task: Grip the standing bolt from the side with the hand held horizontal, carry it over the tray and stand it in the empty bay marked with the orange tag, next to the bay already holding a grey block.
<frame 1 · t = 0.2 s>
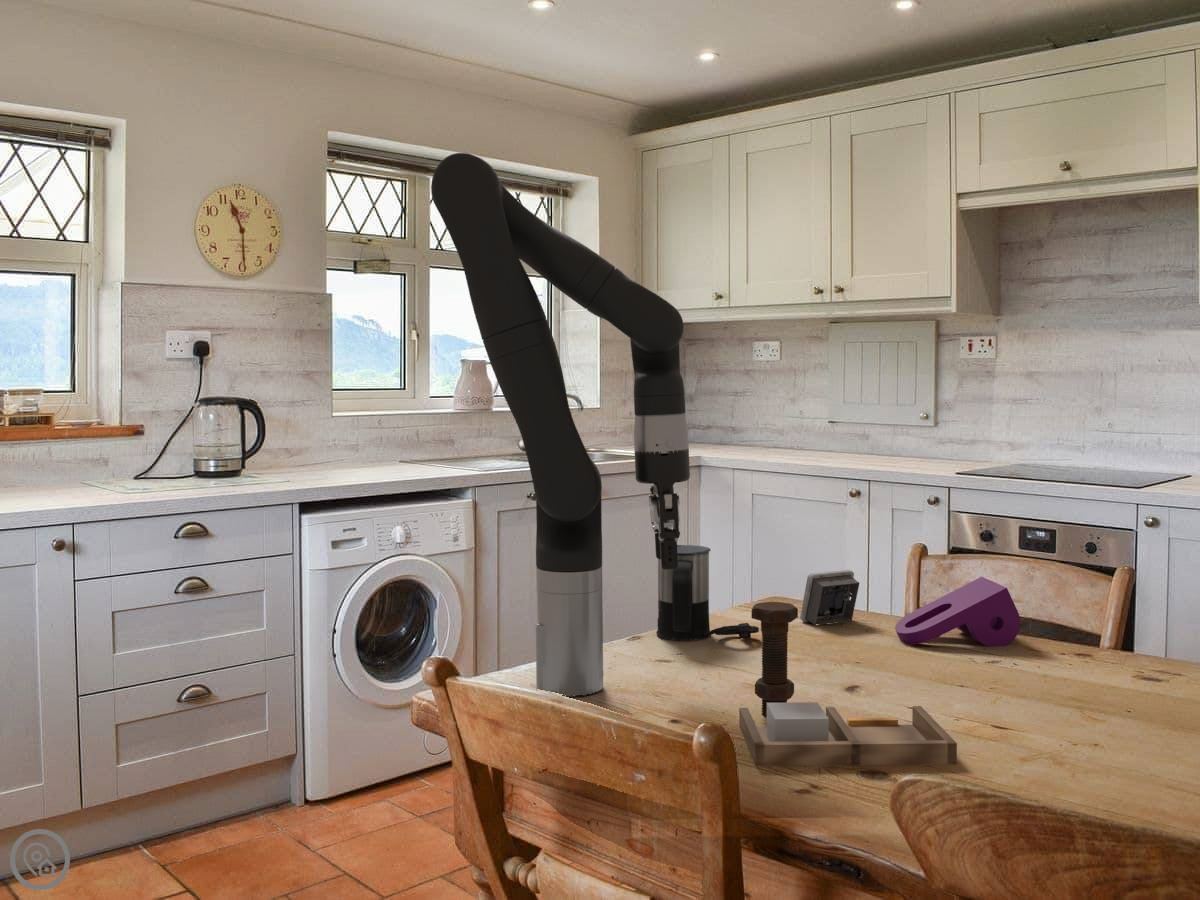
hand: (666, 563, 148), 18 cm above the table, tool pointing down, fingers open, 8 cm apart
bolt: (774, 725, 134), on the table
milk frother: (706, 638, 178), on the table
grey block: (796, 744, 123), point 1 cm above the table, touching tray
electrical switch: (831, 623, 188), on the table
tray: (842, 754, 123), on the table
mounting bracket: (951, 642, 175), on the table
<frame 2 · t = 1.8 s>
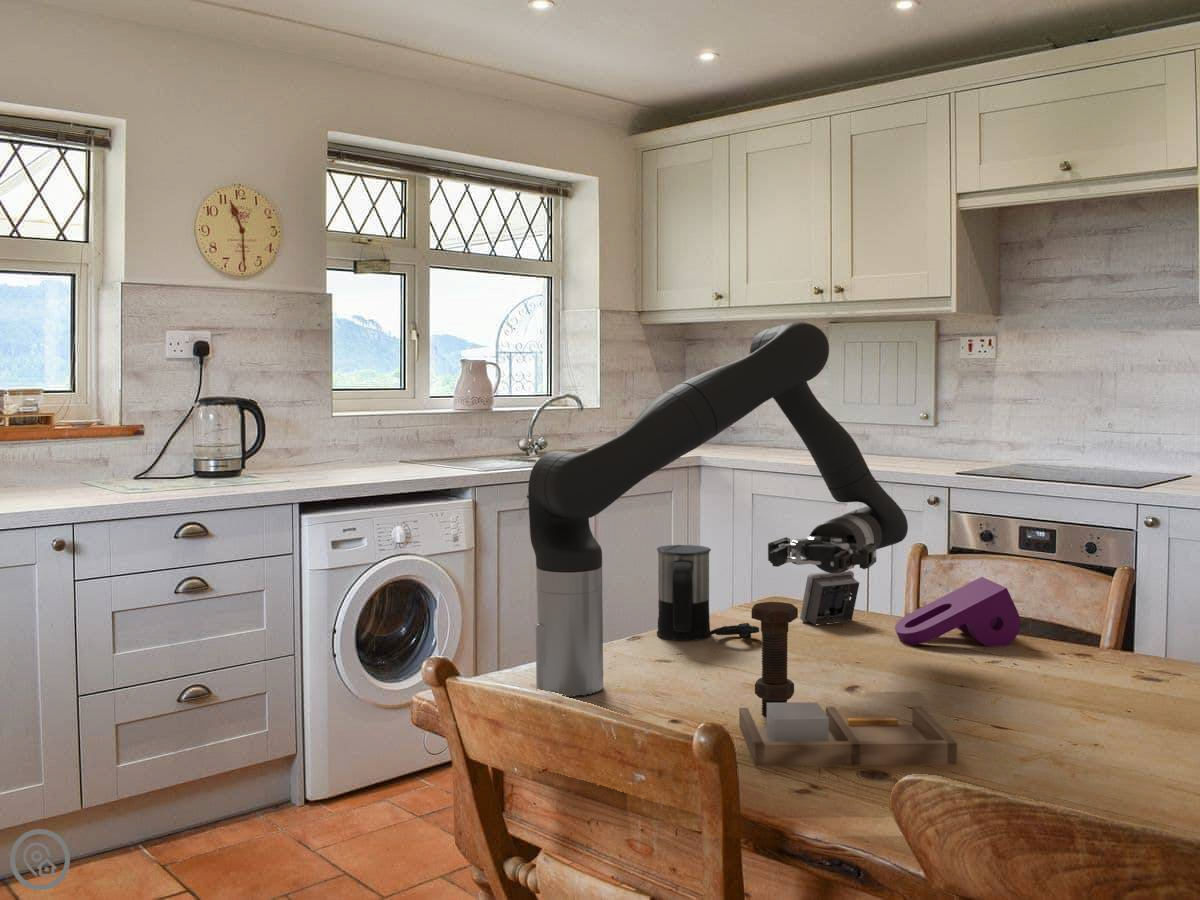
hand: (805, 561, 142), 19 cm above the table, tool horizontal, fingers open, 8 cm apart
nothing on the table moved.
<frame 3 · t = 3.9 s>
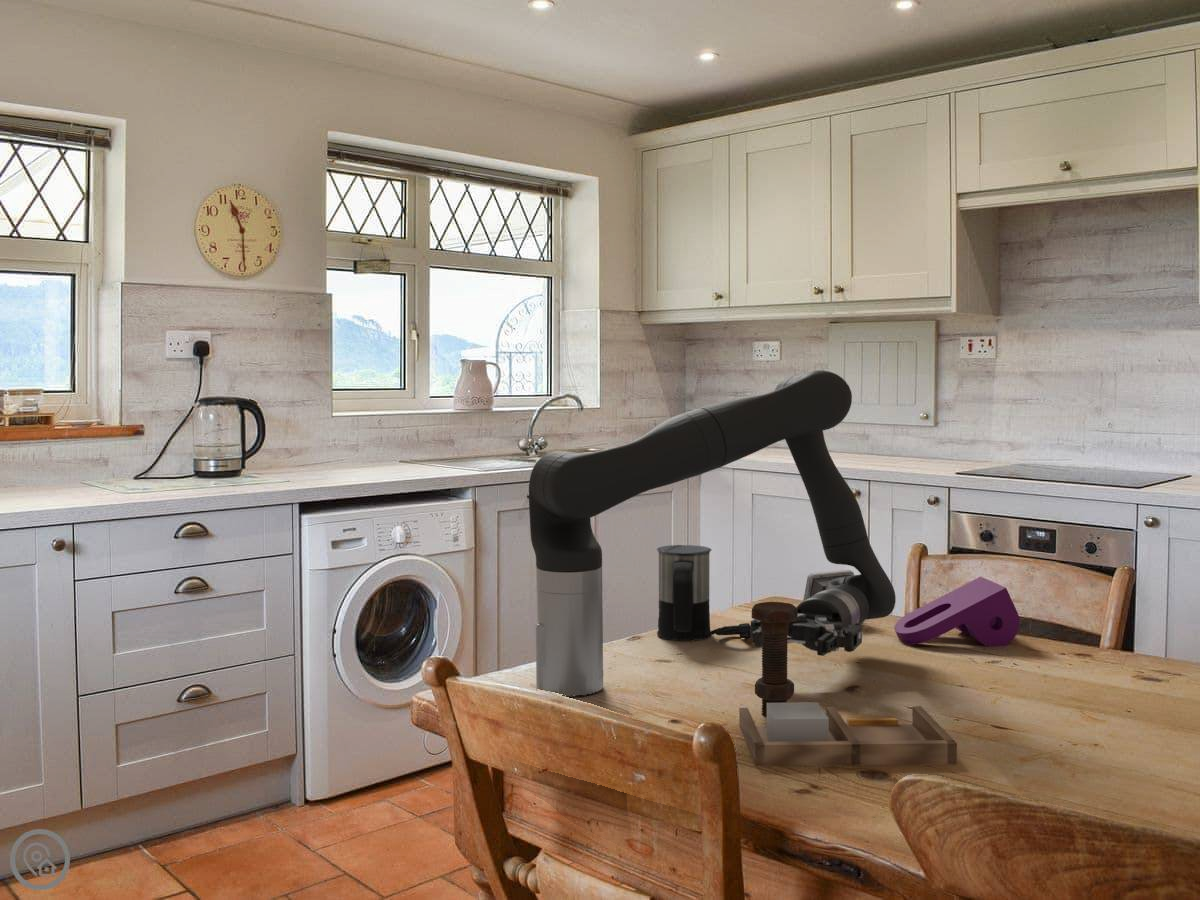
hand: (788, 643, 138), 9 cm above the table, tool horizontal, fingers open, 8 cm apart
nothing on the table moved.
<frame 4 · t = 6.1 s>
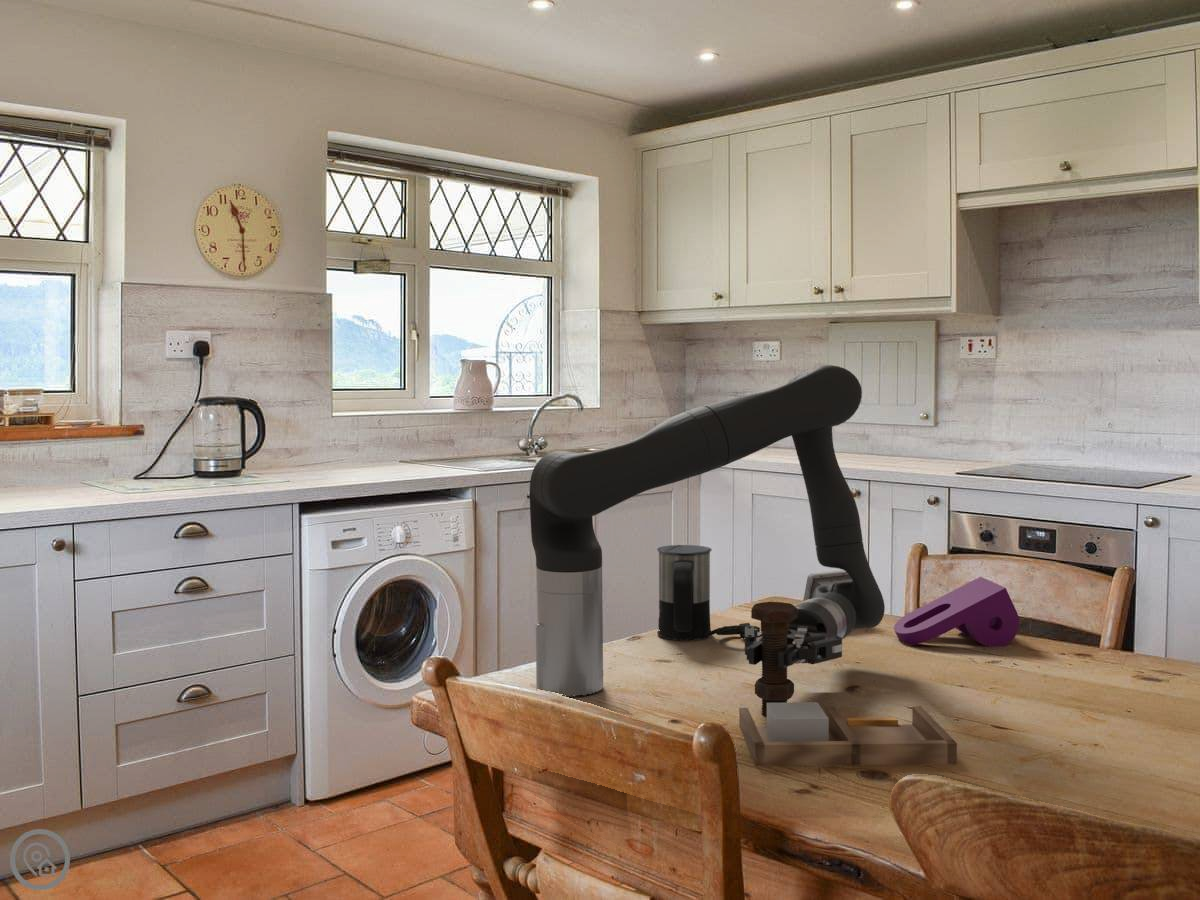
hand: (766, 658, 131), 9 cm above the table, tool horizontal, fingers closed on bolt, 3 cm apart
bolt: (774, 725, 134), on the table, touching gripper
everything else where it was.
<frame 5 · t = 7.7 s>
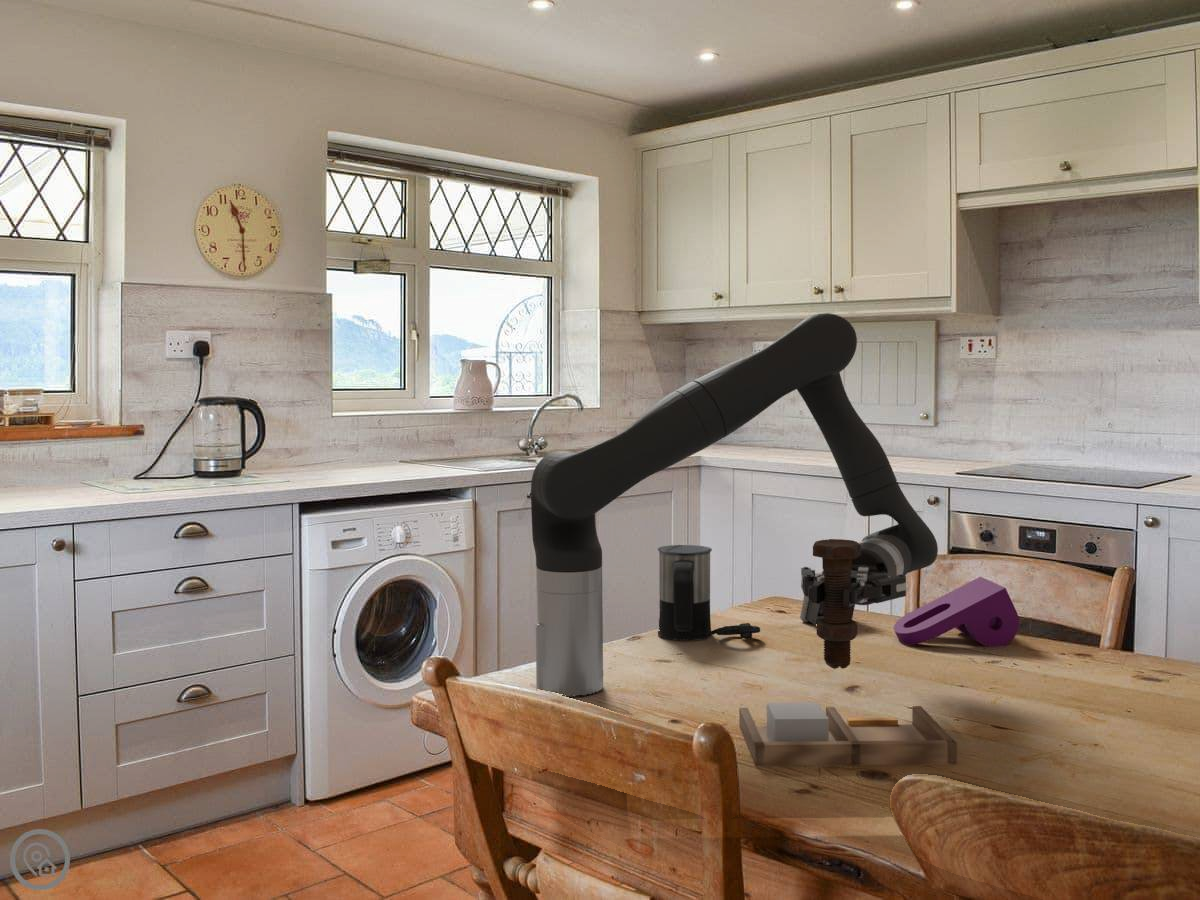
hand: (830, 596, 125), 18 cm above the table, tool horizontal, fingers closed on bolt, 3 cm apart
bolt: (837, 667, 128), point 9 cm above the table, touching gripper
everything else where it was.
when the fingers open (11 cm above the table, at t = 9.7 s): bolt stays where it is, resting on tray.
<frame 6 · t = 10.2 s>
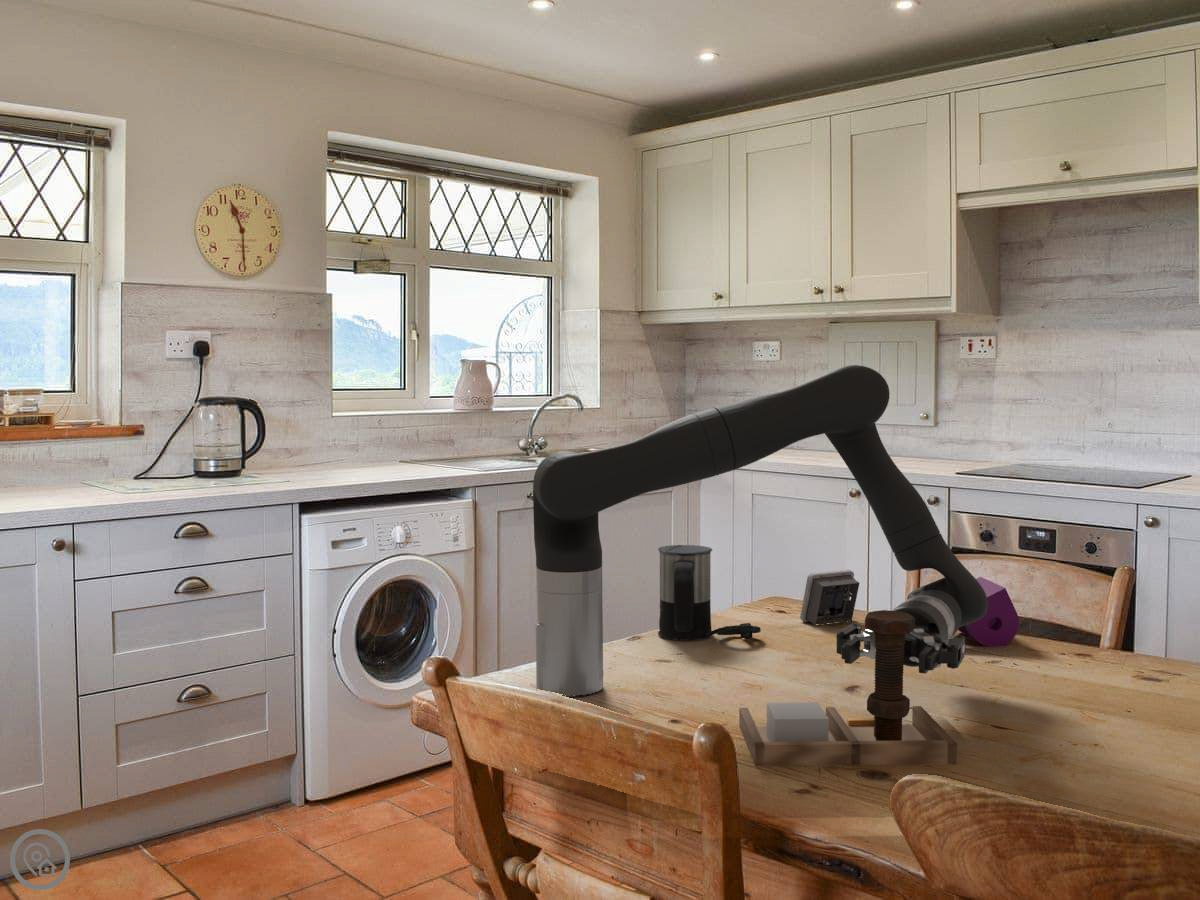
hand: (884, 659, 121), 12 cm above the table, tool horizontal, fingers open, 8 cm apart
bolt: (887, 744, 123), point 1 cm above the table, touching tray
everything else where it was.
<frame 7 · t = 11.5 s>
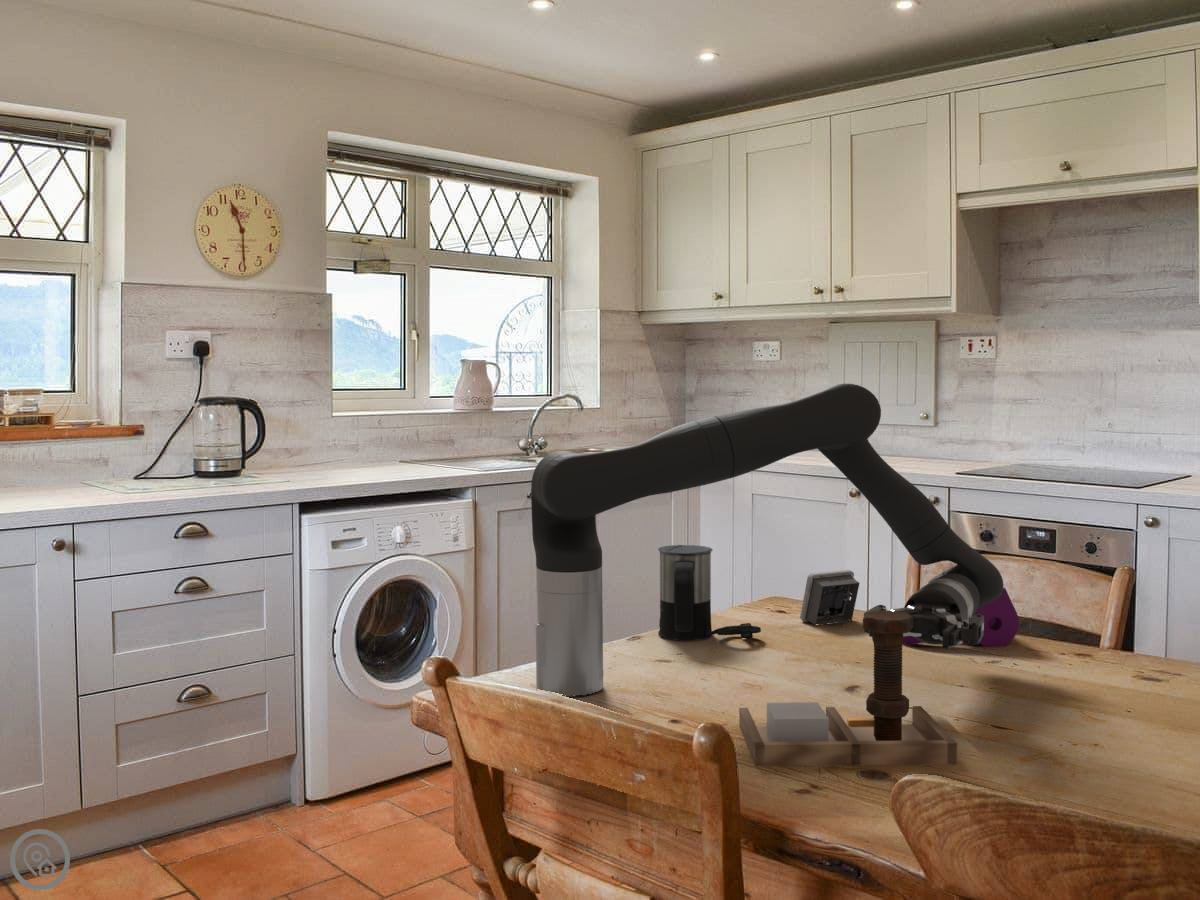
hand: (909, 636, 130), 12 cm above the table, tool horizontal, fingers open, 8 cm apart
nothing on the table moved.
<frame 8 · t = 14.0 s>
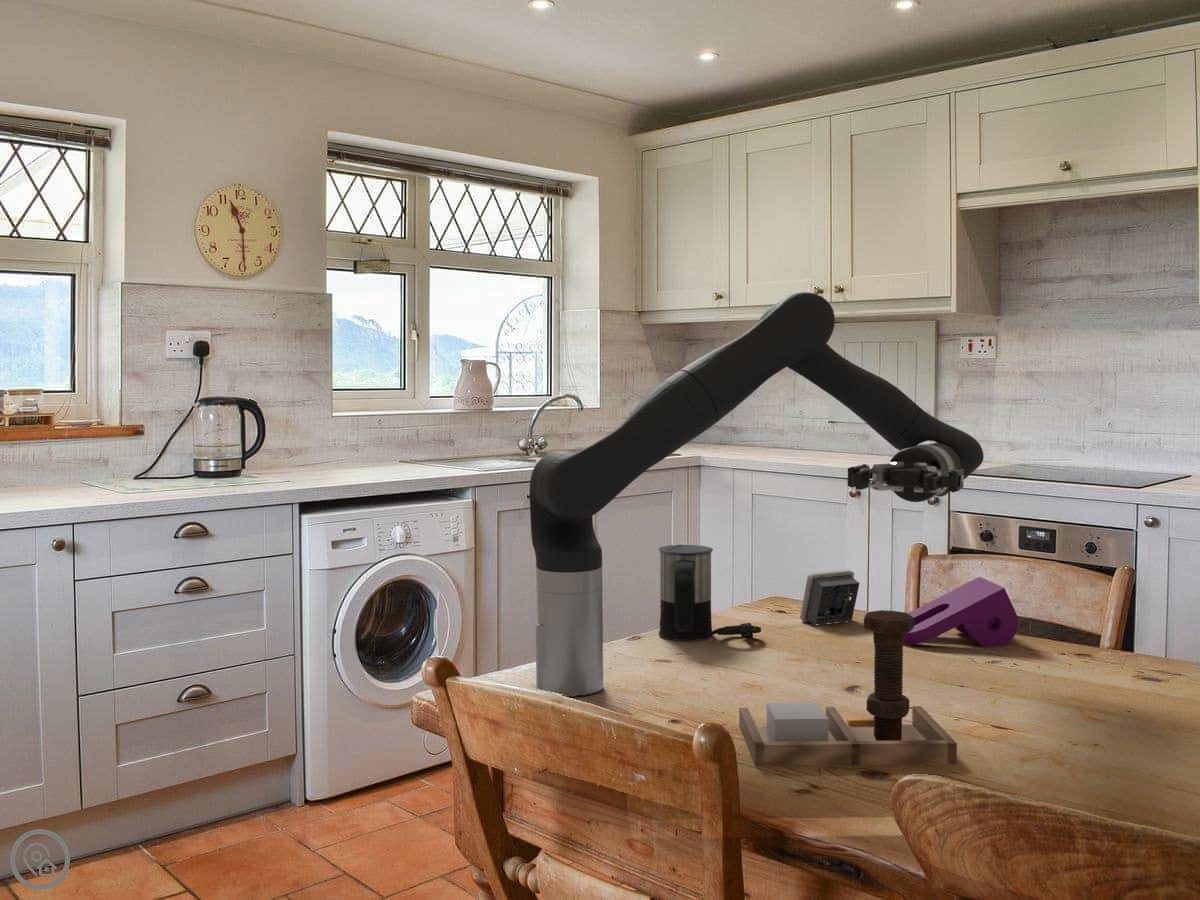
hand: (891, 482, 134), 30 cm above the table, tool horizontal, fingers open, 8 cm apart
nothing on the table moved.
at the end: bolt inside the target area on the tray (0.2 cm from its centre), point 1.0 cm above the tray's base; bolt tilted 0°; the gripper is holding nothing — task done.
